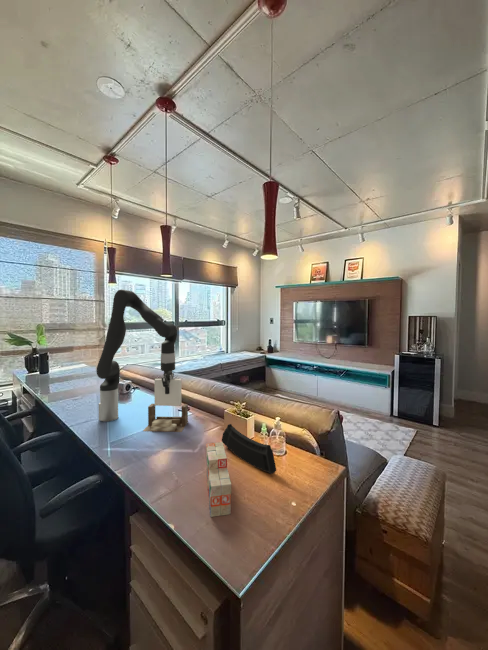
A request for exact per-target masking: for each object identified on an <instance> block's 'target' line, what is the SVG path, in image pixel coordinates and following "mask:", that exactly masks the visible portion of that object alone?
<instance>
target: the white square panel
mask: <svg viewBox="0 0 488 650" xmlns="http://www.w3.org/2000/svg"><path fill="white" fill-rule="evenodd" d="M154 404H155V407H156V406H158V407H160V406H163V407H167V406H168V407H182V379H181V378H173V379H171V382H170V387H169V394H165V387H163V383H162V378H155V379H154Z"/></svg>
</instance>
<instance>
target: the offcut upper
mask: <svg viewBox="0 0 488 650" xmlns="http://www.w3.org/2000/svg"><path fill="white" fill-rule="evenodd" d="M171 424H172V420H154V421H153V422H152V427H170V426H171Z"/></svg>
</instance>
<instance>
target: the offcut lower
mask: <svg viewBox="0 0 488 650" xmlns="http://www.w3.org/2000/svg"><path fill="white" fill-rule="evenodd" d="M176 428H177V424H171V426H170V427H152V426H151V431H175V429H176ZM151 431H150V432H151Z"/></svg>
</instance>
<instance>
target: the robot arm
mask: <svg viewBox="0 0 488 650" xmlns="http://www.w3.org/2000/svg"><path fill="white" fill-rule="evenodd" d="M126 307H127V308H131V309H134V310H135V311H136V312H138V314H139V315H140V316H141V318H142V320H143V321H144V322H145V323H147V324H148V325H149V326H150V327H152V328H153V330H155V332H156V334H158V335H159V336H160V337H161V338H164V341H163V342H162V343H161V345H160V348H161V349H160V352H161V353H160V371H162V372H163V375H162V377H161V379H162V383H163V387H165V394H169V387H170V382H171V379H174V375H175V373H174V372H173V371H175V370H176V351H175V350H176V347H175V345H176V342H177V336H178V329H177V326H176V325H175V324H173V323H165V322H164V318H163V317H162V316H161V315H160V314H158V313H157V312H155V311H154V310H153V309H152V308H150V307H149V306H148V305H147V304H145V302H144V301H143V300H142V299H141V298H140V297H139V296H138V295H137V294H136V293H135V292H134V291H132V290H127V289H123V288H122V289H118V290H117V291H116V292H115V293H114V296H113V302H112V311H111V316H110V320H109V325H108V329H107V331H106V337H105V340H104V345H103V348H102V352H101V356H100V358H99V360H98V363H97V366H96V369H95V370H96V375H97V377H98V378H99V379H101V380H103V382H102V383H101V384H100V386H99V403H98V421H101V422H105V423H106V422H113V421H115V420H117V419H119V383H120V380H121V379H120V376H121V375H120V374H121V373H120V372H121V368H120V365H119V363H118V362H117V361H116V360H114V357H115V355H116V354H117V352H118V350H119V349H120V348H121V346H122V345H123V343H124V341H125V337H126V334H127V333H126V332H127V328H126V323H125V317H124V315H125V311H126Z"/></svg>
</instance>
